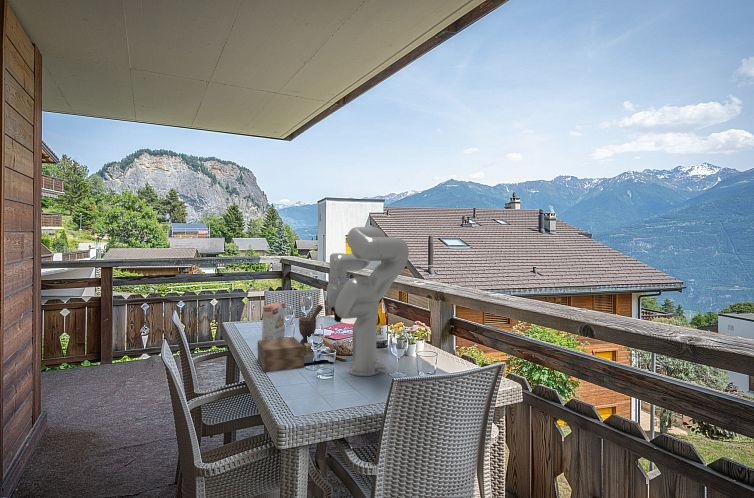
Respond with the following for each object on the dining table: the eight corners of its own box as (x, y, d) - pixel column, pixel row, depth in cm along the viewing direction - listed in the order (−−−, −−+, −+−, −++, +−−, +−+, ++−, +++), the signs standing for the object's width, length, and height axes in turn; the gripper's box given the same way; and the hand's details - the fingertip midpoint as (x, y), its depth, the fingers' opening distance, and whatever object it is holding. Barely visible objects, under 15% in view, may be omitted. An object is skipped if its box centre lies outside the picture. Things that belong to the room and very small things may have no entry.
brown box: (294, 356, 194) (294, 337, 194) (303, 367, 177) (303, 346, 177) (257, 360, 187) (257, 340, 187) (264, 372, 171) (264, 350, 171)
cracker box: (273, 350, 204) (273, 306, 203) (261, 350, 205) (261, 306, 205) (285, 343, 218) (285, 302, 217) (274, 343, 219) (274, 302, 218)
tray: (321, 352, 199) (321, 335, 199) (333, 362, 182) (333, 344, 182) (286, 356, 192) (286, 338, 192) (295, 367, 176) (295, 347, 176)
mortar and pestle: (319, 340, 223) (318, 302, 223) (324, 344, 215) (324, 305, 215) (297, 343, 218) (297, 304, 218) (301, 347, 210) (301, 306, 210)
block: (314, 353, 191) (314, 342, 191) (318, 356, 186) (317, 345, 186) (303, 354, 189) (303, 343, 189) (306, 357, 184) (306, 346, 184)
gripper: (350, 279, 198) (350, 318, 199) (319, 280, 192) (319, 321, 193) (356, 281, 192) (356, 322, 192) (324, 282, 186) (324, 324, 186)
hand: (337, 321), depth 193 cm, fingers closed
